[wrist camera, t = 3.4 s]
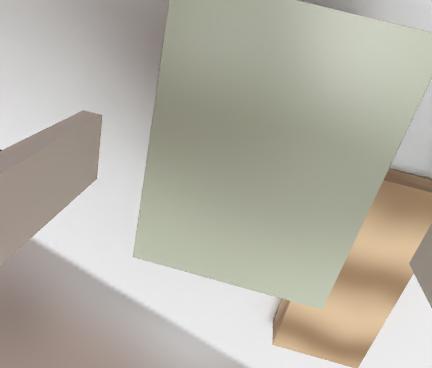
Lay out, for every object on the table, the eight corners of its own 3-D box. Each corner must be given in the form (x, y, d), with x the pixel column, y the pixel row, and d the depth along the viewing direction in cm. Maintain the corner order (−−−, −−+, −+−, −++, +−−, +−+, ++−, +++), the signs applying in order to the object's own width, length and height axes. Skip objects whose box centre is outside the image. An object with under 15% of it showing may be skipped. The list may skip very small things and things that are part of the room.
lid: (316, 266, 21) (322, 309, 18) (153, 222, 21) (133, 256, 18) (417, 31, 15) (450, 37, 12) (193, -23, 16) (173, -30, 13)
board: (351, 343, 32) (357, 368, 30) (273, 321, 33) (272, 344, 30) (441, 182, 25) (457, 199, 23) (339, 155, 25) (344, 169, 23)
